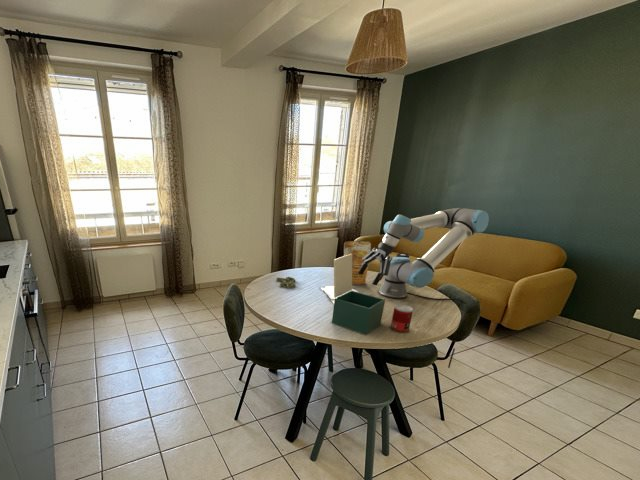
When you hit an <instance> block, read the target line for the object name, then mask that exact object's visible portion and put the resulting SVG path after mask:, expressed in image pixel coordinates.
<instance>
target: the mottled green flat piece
mask: <svg viewBox="0 0 640 480" xmlns="http://www.w3.org/2000/svg"><path fill="white" fill-rule="evenodd" d="M276 282H280V283H279V288H287V289H294V288H296V279H295V278H294V277H290V276H285V277H276Z"/></svg>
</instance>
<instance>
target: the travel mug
mask: <svg viewBox="0 0 640 480" xmlns="http://www.w3.org/2000/svg"><path fill="white" fill-rule="evenodd" d="M395 257H406V258H410V254H409V253H406V252H398V253H396V256H395Z"/></svg>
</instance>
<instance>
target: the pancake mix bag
mask: <svg viewBox="0 0 640 480" xmlns="http://www.w3.org/2000/svg"><path fill="white" fill-rule="evenodd" d="M371 251H372V242H370V241H368V240H367V241H366V240H365V241H364V240H362V241H358V240H350V241H349V240H348V241H345V242H344V243H343V256H346V255H349V254H352V285H364V284H366V283H367V281H366V280H367V276H368V271H369V266H370V263H368V266H367V268H366V269H365V271H364V273H363V275H361V274H358V272H359V271H360V269H361V266H362V264H363V263H364V262H363V260H362V259H363V258H364V257H365V256H366V255H367V254H368V253H370V252H371Z"/></svg>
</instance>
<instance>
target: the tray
mask: <svg viewBox="0 0 640 480" xmlns="http://www.w3.org/2000/svg"><path fill="white" fill-rule="evenodd" d="M320 289H321V291H323V292H325V294H326V295H327V296H328V298H330V301H331V303H333V305H334V301H335V298H334V285H326V286H325V287H320ZM350 291H355V292H358V290H356V289H355V288H352V290H350ZM348 292H349V291H348ZM346 293H347V292H346ZM344 294H345V293H344ZM342 295H343V294H342ZM340 296H341V295H340ZM338 297H339V296H338ZM336 298H337V297H336Z"/></svg>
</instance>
